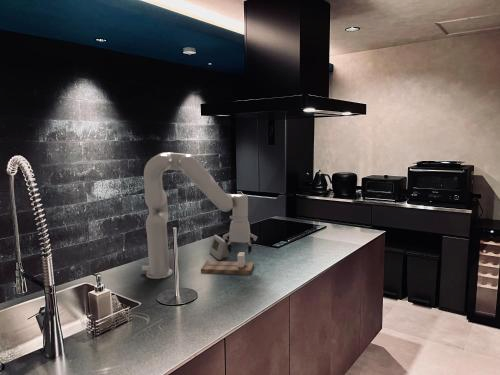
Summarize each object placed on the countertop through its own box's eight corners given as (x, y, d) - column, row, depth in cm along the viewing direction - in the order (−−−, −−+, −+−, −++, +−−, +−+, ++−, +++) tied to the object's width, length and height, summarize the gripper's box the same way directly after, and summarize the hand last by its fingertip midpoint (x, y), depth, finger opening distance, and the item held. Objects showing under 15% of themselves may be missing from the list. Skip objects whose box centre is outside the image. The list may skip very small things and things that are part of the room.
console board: (201, 272, 190) (200, 268, 190) (206, 264, 202) (206, 260, 201) (250, 274, 187) (250, 270, 186) (253, 266, 198) (253, 262, 198)
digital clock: (208, 252, 222) (208, 234, 220) (224, 251, 224) (223, 233, 223) (213, 261, 206) (212, 242, 205) (229, 260, 209) (228, 241, 207)
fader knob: (237, 267, 191) (237, 255, 190) (239, 263, 196) (238, 252, 195) (243, 267, 190) (243, 255, 189) (245, 263, 195) (244, 252, 194)
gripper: (221, 220, 187) (221, 253, 189) (256, 221, 185) (255, 255, 187) (224, 216, 194) (224, 249, 197) (258, 218, 192) (257, 251, 194)
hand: (239, 252), depth 192 cm, fingers open, 9 cm apart
